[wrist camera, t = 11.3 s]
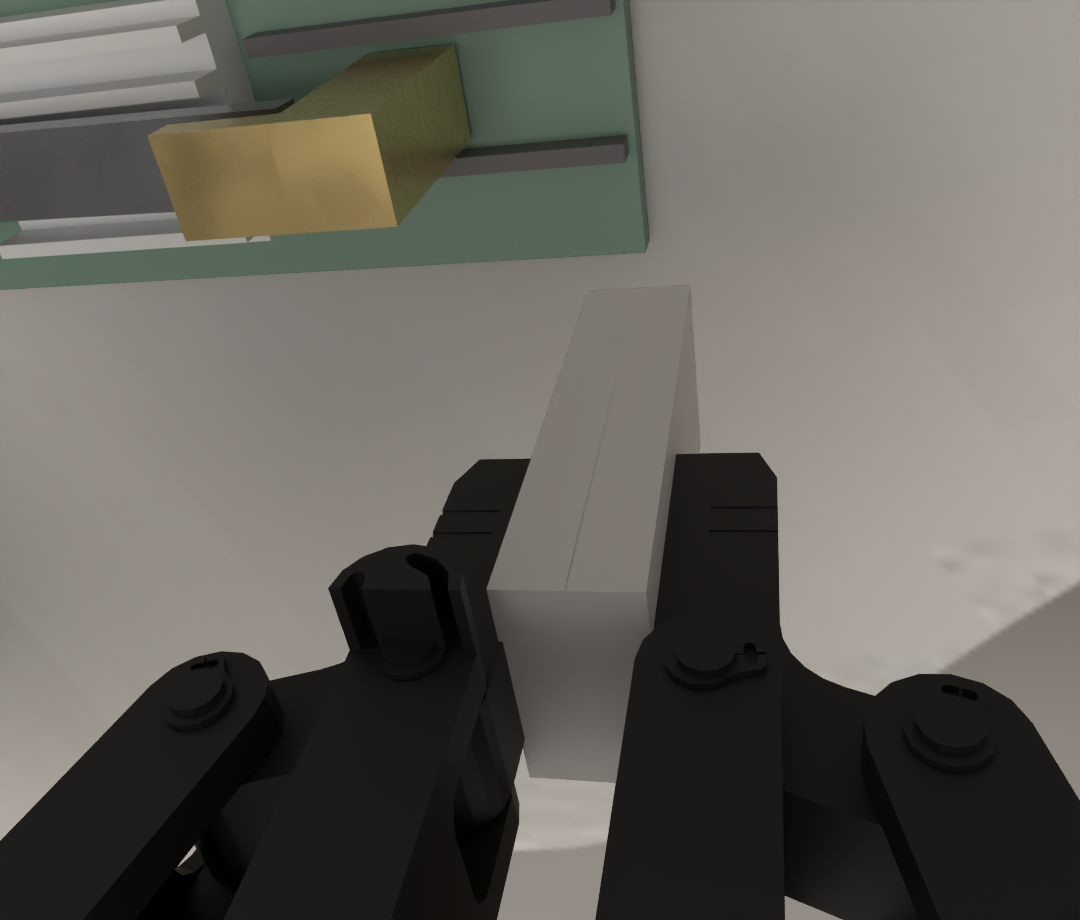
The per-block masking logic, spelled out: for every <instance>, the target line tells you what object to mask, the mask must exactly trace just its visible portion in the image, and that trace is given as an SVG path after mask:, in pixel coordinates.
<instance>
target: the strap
mask: <svg viewBox="0 0 1080 920" xmlns="http://www.w3.org/2000/svg"><path fill="white" fill-rule="evenodd" d="M294 103H295V102H294V99H293V98H289V99H278V100H267V101H256V102H246V103H235V104H224V105H214V106H203V107H192V108H181V109H171V110H160V111H149V112H139V113H128V114H117V115H107V116H96V117H85V118H74V119H64V120H53V121H42V122H32V123H21V124H10V125H0V222H10V221H28V220H45V219H63V218H80V217H98V216H115V215H133V214H150V213H168V212H175V210H174V208H173V205H172V202H171V199H170V197H169V194H168V191H167V188H166V186H165V183H164V180H163V177H162V175H161V172H160V169H159V166H158V164H157V161H156V158H155V155H154V153H153V150H152V147H151V145H150V142H149V139H148V135H150V134H152V133H153V132H155V131H157V130H159V129H160V128H162V127H164V126H165V125H172V124H181V123H191V122H201V121H210V120H220V119H230V118H240V117H249V116H259V115H269V114H278V113H281V112H283V111H284V110H286V109H287V108H289V107H290V106H291V105H293V104H294Z"/></svg>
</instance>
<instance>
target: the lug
mask: <svg viewBox="0 0 1080 920" xmlns="http://www.w3.org/2000/svg"><path fill="white" fill-rule="evenodd" d="M148 139H149V142H150V145H151V147H152V150H153V153H154V155H155V158H156V161H157V164H158V166H159V169H160V172H161V175H162V177H163V180H164V183H165V186H166V188H167V191H168V194H169V197H170V199H171V202H172V205H173V208H174V210H175V213H176V216H177V218H178V221H179V224H180V227H181V229H182V232H183V235H184V238H185V240H186V241H198V240H212V239H227V238H241V237H256V236H270V235H285V234H299V233H314V232H328V231H343V230H357V229H372V228H386V227H398V226H399V224H400V223H401V222H402V221H403V220H404V218H405V217H406V216H407V215H408V214H409V212H410V211H411V210H412V209H413V208H414V206H415V205H416V204H417V203H418V202H419V201H420V199H421V198H422V197H423V196H424V195H425V193H426V192H427V191H428V190H429V189H430V187H431V186H432V185H433V184H434V183H435V182H436V180H437V179H438V178H439V177H440V176H441V174H442V173H443V172H444V171H445V170H446V168H447V167H448V166H449V165H450V164H451V163H452V161H453V160H454V159H455V158H456V157H457V155H458V154H459V153H460V152H461V151H462V149H463V148H464V147H465V146H466V145H467V144H468V142H469V141H470V140H471V133H470V128H469V122H468V117H467V111H466V106H465V100H464V95H463V89H462V84H461V78H460V73H459V67H458V62H457V56H456V51H455V45H454V44H447V45H439V46H430V47H422V48H413V49H405V50H396V51H388V52H379V53H371V54H366V55H364V56H363V57H362V58H360V59H359V60H357V61H356V62H354V63H353V64H351V65H350V66H348V67H347V68H345V69H344V70H343V71H341V72H340V73H338V74H337V75H335V76H334V77H332V78H331V79H329V80H328V81H326V82H325V83H324V84H322V85H321V86H319V87H318V88H316V89H315V90H313V91H312V92H310V93H309V94H307V95H306V96H305V97H303V98H302V99H300V100H299V101H297V102H296V103H294V104H293V105H291V106H290V107H289V108H287V109H286V110H284V111H283V112H281V113H278V114H269V115H259V116H249V117H240V118H230V119H220V120H210V121H201V122H191V123H181V124H172V125H165V126H164V127H162V128H160V129H159V130H157V131H155V132H153V133H152V134H150V135H148Z"/></svg>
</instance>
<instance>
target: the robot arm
mask: <svg viewBox="0 0 1080 920" xmlns="http://www.w3.org/2000/svg"><path fill="white" fill-rule="evenodd" d="M699 450H700V431H699V415H698V399H697V383H696V368H695V352H694V336H693V320H692V305H691V289H690V285H682V286H664V287H646V288H628V289H610V290H592V291H588V293H587V296H586V299H585V302H584V305H583V308H582V311H581V313H580V316H579V319H578V322H577V325H576V328H575V331H574V334H573V337H572V340H571V343H570V346H569V349H568V352H567V355H566V357H565V360H564V363H563V366H562V369H561V372H560V375H559V378H558V381H557V384H556V387H555V390H554V393H553V396H552V399H551V401H550V404H549V407H548V410H547V413H546V416H545V419H544V422H543V425H542V428H541V431H540V434H539V437H538V440H537V443H536V445H535V448H534V451H533V454H532V457H531V459H486V460H479V461H478V462H477V463H476V464H474V465H473V466H472V467H471V468H470V469H469V470H468V471H467V472H466V473H465V474H464V475H463V476H461V477H460V478H459V479H458V480H457V481H456V482H455V483H454V485H453V487H452V489H451V492H450V494H449V496H448V499H447V501H446V503H445V505H444V508H443V515H440V517H439V519H438V521H437V524H436V526H435V528H434V530H433V537H430V540H429V542H428V544H427V546H421V545H414V544H413V545H404V546H396V547H388V548H385V549H383V550H380V551H377V552H375V553H372V554H369V555H366V556H364V557H362V558H361V559H359V560H358V561H356V562H355V563H353V564H352V565H350V566H349V567H347V568H346V569H344V570H343V571H342V572H341V573H340V574H339V576H338V577H337V578H336V579H335V580H334V582H333V583H332V584H331V585H330V587H329V588H328V589H329V592H330V595H331V597H332V600H333V603H334V606H335V609H336V612H337V615H338V617H339V620H340V623H341V626H342V629H343V632H344V635H345V637H346V640H347V643H348V646H349V649H350V651H349V653H348V656H347V658H346V660H345V662H343V663H340V664H337V665H334V666H331V667H327V668H324V669H321V670H316V671H312V672H307V673H302V674H298V675H293V676H289V677H284V678H280V679H275V680H271V681H269V678H268V676H267V674H266V672H265V671H264V669H263V667H262V665H261V663H260V662H259V661H258V660H256V659H254V658H252V657H250V656H248V655H246V654H244V653H237V652H223V651H221V652H216V653H212V654H207V655H203V656H198V657H195V658H193V659H191V660H189V661H187V662H185V663H183V664H181V665H178V666H176V667H174V668H172V669H171V670H170V671H168V672H167V673H166V674H165V675H163V676H162V677H161V678H160V679H158V680H157V681H156V682H155V683H153V684H152V685H151V686H150V687H149V688H148V689H147V690H146V691H145V692H144V693H143V694H142V695H141V696H140V697H139V698H138V699H137V700H136V701H135V702H134V703H133V704H132V705H131V706H130V708H129V709H128V710H127V711H126V712H125V713H124V714H123V715H122V716H121V717H120V718H119V719H118V720H117V721H116V722H115V723H114V724H113V725H112V726H111V727H110V728H109V729H108V730H107V731H106V732H105V733H104V734H103V735H102V736H101V737H100V738H99V740H98V741H97V742H96V743H95V744H94V745H93V746H92V747H91V748H90V749H89V750H88V751H87V752H86V753H85V754H84V755H83V756H82V757H81V758H80V759H79V760H78V761H77V762H76V763H75V764H74V765H73V766H72V767H71V768H70V769H69V770H68V772H67V773H66V774H65V775H64V776H63V777H62V778H61V779H60V780H59V781H58V782H57V783H56V784H55V785H54V786H53V787H52V788H51V789H50V790H49V791H48V792H47V793H46V794H45V795H44V796H43V797H42V798H41V799H40V800H39V801H38V802H37V804H36V805H35V806H34V807H33V808H32V809H31V810H30V811H29V812H28V813H27V814H26V815H25V816H24V817H23V818H22V819H21V820H20V821H19V822H18V823H17V824H16V825H15V826H14V827H13V828H12V829H11V830H10V831H9V832H8V833H7V835H6V836H5V837H4V838H3V839H2V840H1V841H0V920H497V916H498V912H499V908H500V904H501V899H502V895H503V891H504V886H505V882H506V878H507V873H508V869H509V865H510V860H511V856H512V852H513V847H514V843H515V839H516V834H517V830H518V825H519V801H518V797H517V793H516V789H515V785H514V780H515V776H516V772H517V768H518V764H519V760H520V756H521V752H522V748H523V750H524V754H525V758H526V763H527V767H528V771H529V776H530V777H535V778H550V779H566V780H581V781H596V782H612V783H616V786H615V793H614V799H613V806H612V813H611V819H610V826H609V833H608V839H607V846H606V853H605V859H604V866H603V873H602V879H601V886H600V893H599V900H598V906H597V913H596V920H785V899H784V898H785V897H784V896H787V897H790V898H792V899H795V900H797V901H799V902H802V903H804V904H807V905H809V906H812V907H814V908H816V909H819V910H821V911H824V912H826V913H828V914H831V915H834V916H836V917H838V918H840V919H843V920H1080V800H1079V799H1078V797H1077V796H1076V794H1075V792H1074V790H1073V789H1072V787H1071V785H1070V784H1069V782H1068V781H1067V779H1066V777H1065V776H1064V774H1063V772H1062V771H1061V769H1060V767H1059V766H1058V764H1057V763H1056V761H1055V759H1054V758H1053V756H1052V754H1051V753H1050V751H1049V750H1048V748H1047V746H1046V745H1045V743H1044V741H1043V740H1042V738H1041V736H1040V735H1039V733H1038V732H1037V730H1036V728H1035V727H1034V725H1033V723H1032V722H1031V721H1030V720H1029V719H1028V718H1027V717H1026V716H1025V714H1024V713H1023V712H1022V711H1021V710H1020V709H1019V708H1018V707H1017V706H1016V704H1015V703H1014V702H1013V701H1012V700H1011V699H1009V698H1007V697H1006V696H1004V695H1002V694H1001V693H999V692H997V691H995V690H994V689H992V688H990V687H988V686H987V685H985V684H983V683H980V682H976V681H973V680H970V679H966V678H962V677H959V676H955V675H951V674H918V675H914V676H911V677H908V678H904V679H901V680H898V681H895V682H892V683H890V684H889V685H888V686H887V687H885V688H884V689H883V690H882V691H881V692H879V693H878V694H877V695H876V696H873V695H870V694H866V693H863V692H860V691H856V690H853V689H850V688H846V687H843V686H841V685H838V684H836V683H833V682H831V681H828V680H825V679H823V678H821V677H820V676H818V675H817V674H815V673H814V672H812V671H810V670H809V669H807V668H806V667H804V666H803V665H802V664H801V663H800V662H799V661H798V660H797V659H796V658H795V657H794V656H793V655H792V654H791V652H790V650H789V649H788V647H787V645H786V643H785V642H784V640H783V637H782V632H781V627H780V610H779V558H778V506H777V477H776V476H775V474H774V473H773V471H772V470H771V469H770V467H769V466H768V465H767V463H766V462H765V461H764V459H763V458H762V456H761V455H760V454H759V453H707V454H699ZM194 845H195V847H196V850H195V851H194V853H193V854H192V855H191V856H190V857H189V858H188V859H187V860H186V861H184V862H183V863H182V864H181V865H180V866H178V865H179V863H180V862H181V861H182V860H183V858H184V857H185V856H186V855H187V853H188V852H189V851H190V850H191V848H192V847H193V846H194Z"/></svg>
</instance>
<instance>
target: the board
mask: <svg viewBox="0 0 1080 920" xmlns="http://www.w3.org/2000/svg"><path fill="white" fill-rule="evenodd" d="M447 44H454V45H455V51H456V56H457V62H458V67H459V73H460V78H461V84H462V89H463V95H464V100H465V106H466V111H467V117H468V122H469V128H470V133H471V140H470V141H469V142H468V144H467V145H466V146H465V147H464V148H463V149H462V151H461V152H460V153H459V154H458V155H457V157H456V158H455V159H454V160H453V161H452V163H451V164H450V165H449V166H448V167H447V168H446V170H445V171H444V172H443V173H442V174H441V176H440V177H439V178H438V179H437V180H436V182H435V183H434V184H433V185H432V186H431V187H430V189H429V190H428V191H427V192H426V193H425V195H424V196H423V197H422V198H421V199H420V201H419V202H418V203H417V204H416V205H415V206H414V208H413V209H412V210H411V211H410V212H409V214H408V215H407V216H406V217H405V218H404V220H403V221H402V222H401V223H400V224H399V226H398V227H386V228H372V229H357V230H343V231H328V232H314V233H299V234H285V235H270V236H256V237H241V238H227V239H212V240H198V241H186V240H185V238H184V235H183V232H182V229H181V227H180V224H179V221H178V218H177V216H176V213H175V212H168V213H150V214H133V215H115V216H98V217H80V218H63V219H45V220H28V221H10V222H0V290H6V289H23V288H40V287H57V286H75V285H92V284H109V283H126V282H144V281H161V280H178V279H195V278H213V277H230V276H247V275H264V274H282V273H299V272H316V271H333V270H351V269H368V268H385V267H402V266H420V265H437V264H454V263H471V262H488V261H506V260H523V259H540V258H557V257H575V256H592V255H609V254H626V253H644V252H646V249H647V246H648V242H649V229H648V217H647V206H646V194H645V182H644V171H643V159H642V148H641V136H640V125H639V113H638V101H637V90H636V78H635V67H634V55H633V44H632V32H631V21H630V9H629V0H0V125H10V124H21V123H32V122H42V121H53V120H64V119H74V118H85V117H96V116H107V115H117V114H128V113H139V112H149V111H160V110H171V109H181V108H192V107H203V106H214V105H224V104H235V103H246V102H256V101H267V100H278V99H289V98H293V99H294V102H295V103H296V102H297V101H299V100H300V99H302V98H303V97H305V96H306V95H307V94H309V93H310V92H312V91H313V90H315V89H316V88H318V87H319V86H321V85H322V84H324V83H325V82H326V81H328V80H329V79H331V78H332V77H334V76H335V75H337V74H338V73H340V72H341V71H343V70H344V69H345V68H347V67H348V66H350V65H351V64H353V63H354V62H356V61H357V60H359V59H360V58H362V57H363V56H364V55H366V54H371V53H379V52H388V51H396V50H405V49H413V48H422V47H430V46H439V45H447Z"/></svg>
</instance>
